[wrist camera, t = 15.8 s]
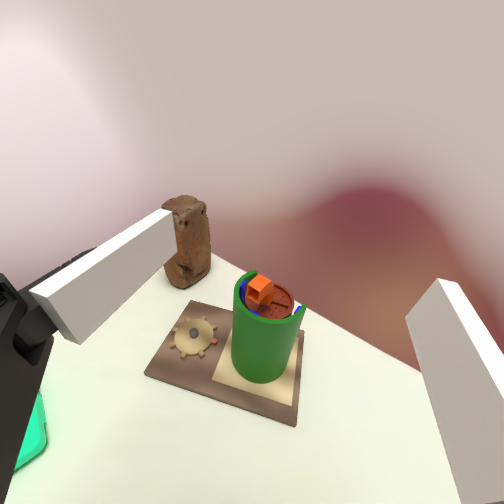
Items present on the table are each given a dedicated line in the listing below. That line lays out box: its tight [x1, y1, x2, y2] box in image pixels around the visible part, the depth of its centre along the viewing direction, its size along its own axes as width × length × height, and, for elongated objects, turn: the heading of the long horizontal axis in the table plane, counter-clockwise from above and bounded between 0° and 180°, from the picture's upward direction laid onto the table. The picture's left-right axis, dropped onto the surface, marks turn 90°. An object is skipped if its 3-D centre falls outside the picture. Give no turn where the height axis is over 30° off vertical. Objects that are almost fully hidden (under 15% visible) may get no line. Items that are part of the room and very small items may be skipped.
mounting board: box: [144, 300, 304, 427], centre depth 40 cm, size 16×25×3 cm, turn 75°
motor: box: [231, 270, 307, 384], centre depth 33 cm, size 10×9×20 cm
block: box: [162, 195, 211, 288], centre depth 50 cm, size 11×8×20 cm
